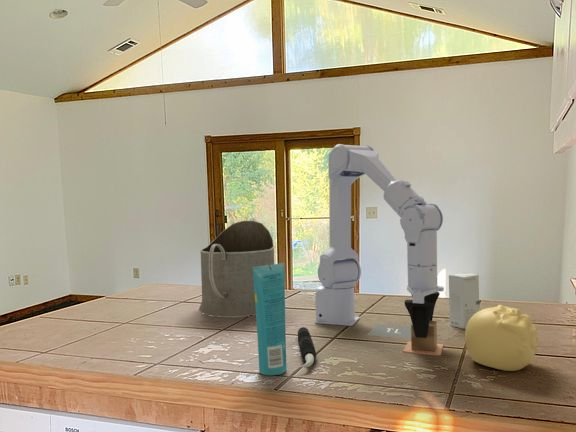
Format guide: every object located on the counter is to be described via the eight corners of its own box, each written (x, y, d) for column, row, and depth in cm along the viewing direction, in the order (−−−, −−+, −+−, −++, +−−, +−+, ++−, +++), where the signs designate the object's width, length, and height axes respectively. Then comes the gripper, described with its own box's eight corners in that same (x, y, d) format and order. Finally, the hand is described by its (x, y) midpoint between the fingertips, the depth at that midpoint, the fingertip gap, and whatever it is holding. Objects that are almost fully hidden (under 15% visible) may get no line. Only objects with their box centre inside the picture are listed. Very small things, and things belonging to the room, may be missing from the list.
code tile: (366, 335, 105) (366, 334, 105) (376, 324, 114) (376, 323, 114) (412, 339, 101) (412, 338, 101) (418, 327, 110) (418, 326, 110)
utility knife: (320, 374, 83) (319, 357, 83) (297, 375, 83) (297, 358, 82) (309, 338, 104) (309, 325, 104) (291, 339, 104) (291, 326, 104)
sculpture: (536, 382, 76) (535, 316, 76) (459, 369, 82) (458, 308, 82) (541, 360, 86) (540, 302, 85) (472, 351, 92) (471, 296, 92)
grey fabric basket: (287, 300, 145) (285, 219, 144) (256, 327, 114) (253, 225, 114) (217, 298, 151) (215, 221, 150) (170, 324, 120) (166, 226, 119)
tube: (276, 362, 88) (273, 261, 88) (296, 368, 85) (293, 263, 85) (248, 374, 83) (245, 266, 82) (268, 380, 79) (265, 268, 79)
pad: (403, 352, 92) (403, 351, 92) (408, 342, 99) (408, 341, 99) (440, 356, 90) (440, 354, 90) (443, 345, 96) (443, 344, 96)
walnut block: (411, 349, 93) (411, 324, 93) (414, 343, 97) (414, 319, 97) (434, 352, 91) (434, 326, 91) (436, 345, 95) (436, 321, 95)
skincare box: (464, 329, 107) (463, 277, 107) (448, 325, 111) (447, 274, 111) (481, 325, 111) (480, 274, 110) (464, 321, 114) (463, 272, 114)
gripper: (440, 270, 85) (441, 344, 86) (445, 260, 99) (446, 324, 99) (400, 269, 88) (402, 340, 89) (411, 259, 101) (412, 321, 102)
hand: (423, 331), depth 94 cm, fingers open, 7 cm apart
